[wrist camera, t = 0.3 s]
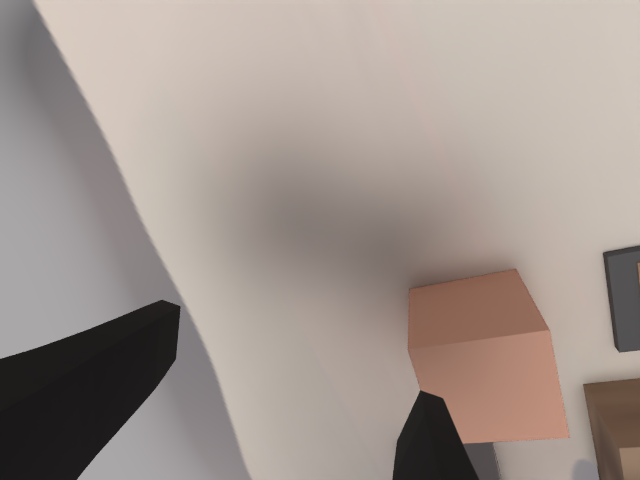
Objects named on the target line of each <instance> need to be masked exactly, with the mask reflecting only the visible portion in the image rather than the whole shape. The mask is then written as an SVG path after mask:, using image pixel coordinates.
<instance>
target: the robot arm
mask: <svg viewBox="0 0 640 480" xmlns="http://www.w3.org/2000/svg"><path fill="white" fill-rule="evenodd" d="M179 318H180V306H178V305H175V304H173V303H170V302H167V301H164V300H160V301H158V302H155V303H152V304H150V305H147V306H145V307H142V308H140V309H137V310H135V311H133V312H130V313H128V314H126V315H123V316H121V317H118V318H116V319H113V320H111V321H108V322H106V323H103V324H101V325H98V326H96V327H93V328H91V329H88V330H86V331H83V332H80V333H77V334H75V335H72V336H69V337H66V338H64V339H61V340H58V341H56V342H53V343H50V344H47V345H44V346H41V347H38V348H35V349H32V350H29V351H26V352H22V353H19V354H16V355H12V356H9V357H5V358H2V359H0V480H77V479H78V477H79V476H80V475H81V473H82V472H83V471H84V470H85V468H86V467H87V466H88V465H89V464H90V462H91V461H92V460H93V459H94V458H95V456H96V455H97V454H98V453H99V452H100V451H101V450H102V448H103V447H104V446H105V445H106V444H107V443H108V442H109V440H111V438H112V437H113V436H114V435H115V434H116V433H117V432H118V431H119V429H120V428H121V427H122V426H123V425H124V424H125V423H126V421H127V420H128V419H129V418H130V417H131V416H132V415H133V414H134V413H135V411H136V410H137V409H138V408H139V407H140V406H141V405H142V403H143V402H144V401H145V400H146V399H147V398H148V396H150V394H151V393H152V392H153V391H154V390H155V388H156V387H157V386H158V384H159V383H160V381H161V380H162V379H163V377H164V376H165V374H166V373H167V371H168V370H169V368H170V367H171V366H172V364H173V362H174V361H175V359H176V351H177V340H178V329H179ZM393 480H479V478H478V475H477V473H476V471H475V469H474V467H473V465H472V463H471V461H470V459H469V456H468V454H467V452H466V450H465V448H464V445H463V443H462V441H461V439H460V436H459V434H458V432H457V429H456V427H455V425H454V422H453V420H452V418H451V415H450V413H449V410H448V408H447V406H446V403H445V401H444V399H443V398H441V397H439V396H436V395H433V394H430V393H427V392H424V391H421V390H420V393H419V395H418V397H417V399H416V401H415V403H414V406H413V408H412V410H411V412H410V414H409V417H408V419H407V421H406V423H405V425H404V427H403V430H402V432H401V434H400V436H399V438H398V440H397V447H396V455H395V462H394V471H393Z"/></svg>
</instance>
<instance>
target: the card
mask: <svg viewBox="0 0 640 480" xmlns="http://www.w3.org/2000/svg"><path fill="white" fill-rule="evenodd" d="M603 255H604V262H605V270H606V278H607V286H608V294H609V302H610V309H611V317H612V325H613V333H614V341H615V347H616V349H617V350H618V351H619V353H620V352H628V351H637V350H640V246H638V247H632V248H627V249H622V250H617V251H611V252H606V253H603Z"/></svg>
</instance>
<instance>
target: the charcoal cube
mask: <svg viewBox="0 0 640 480" xmlns="http://www.w3.org/2000/svg"><path fill="white" fill-rule="evenodd" d="M463 445H464V448H465V450H466V452H467V454H468V456H469V459H470V461H471V463H472V465H473V467H474V469H475V471H476V473H477V475H478V478H479V480H502V478H501V474H500V470H499V466H498V462H497V459H496V455H495V451H494V447H493V443H492V442H483V443H465V444H463Z"/></svg>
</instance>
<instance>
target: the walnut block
mask: <svg viewBox="0 0 640 480" xmlns="http://www.w3.org/2000/svg"><path fill="white" fill-rule="evenodd" d="M583 386H584V391H585V397H586V402H587V408H588V413H589V419H590V424H591V430H592V435H593V441H594V447H595V452H596V458H597V463H598V466H597V469H598V475H599V480H640V378H639V379H629V380H619V381H610V382H600V383H590V384H583Z"/></svg>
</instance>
